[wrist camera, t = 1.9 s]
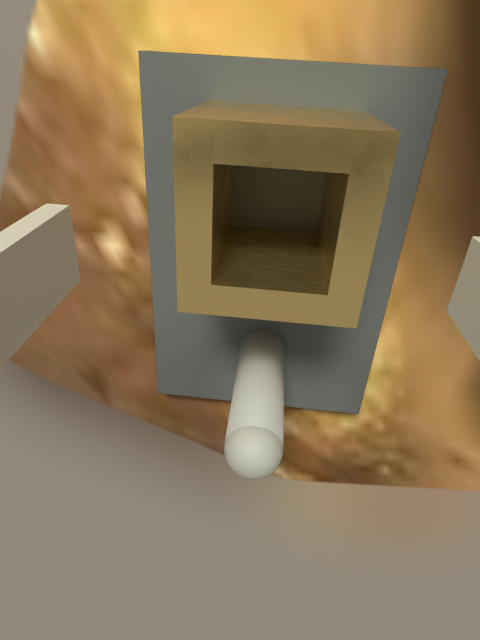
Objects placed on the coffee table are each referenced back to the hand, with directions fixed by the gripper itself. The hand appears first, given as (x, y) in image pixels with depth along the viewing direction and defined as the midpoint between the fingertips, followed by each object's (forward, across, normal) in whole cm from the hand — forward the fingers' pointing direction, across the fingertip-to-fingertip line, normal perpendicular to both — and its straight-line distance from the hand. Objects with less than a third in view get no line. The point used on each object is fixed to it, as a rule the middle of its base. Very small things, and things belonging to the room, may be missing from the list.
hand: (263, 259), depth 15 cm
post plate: (+12, 0, +5) cm, 14 cm away
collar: (+11, 0, 0) cm, 11 cm away
